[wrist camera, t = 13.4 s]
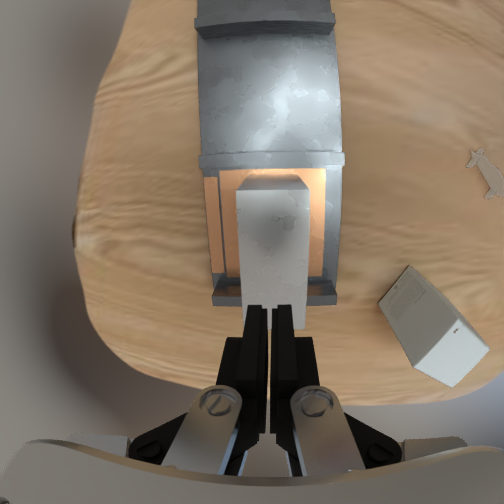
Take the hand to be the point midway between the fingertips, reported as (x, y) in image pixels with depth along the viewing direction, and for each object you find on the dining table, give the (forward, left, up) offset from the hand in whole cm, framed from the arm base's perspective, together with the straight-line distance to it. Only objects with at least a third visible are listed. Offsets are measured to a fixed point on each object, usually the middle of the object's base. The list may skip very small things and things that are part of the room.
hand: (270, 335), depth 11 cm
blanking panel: (0, 0, -15) cm, 15 cm away
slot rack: (0, -12, -17) cm, 20 cm away
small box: (-16, +9, -17) cm, 25 cm away
